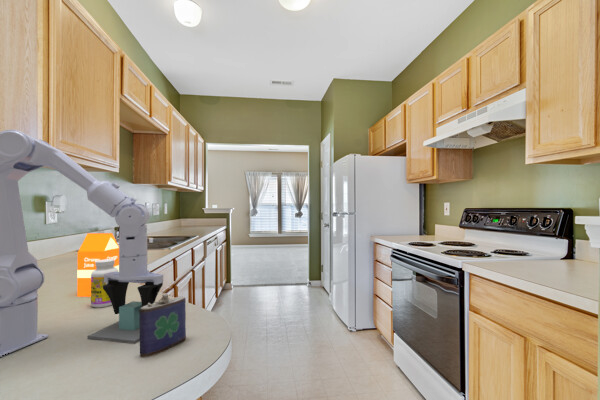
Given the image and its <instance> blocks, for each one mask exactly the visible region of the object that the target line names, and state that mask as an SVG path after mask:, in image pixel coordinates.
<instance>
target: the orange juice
mask: <svg viewBox="0 0 600 400" xmlns="http://www.w3.org/2000/svg"><path fill="white" fill-rule="evenodd" d="M105 259H114V260H115V264H114V267H115V268H117V269H118V272H119V243H118V242H117V239H116V238H115V236H114V234H113V233H112V232H105V233H104V232H103V233H102V232H101V233H100V232H98V233H95V232H93V233H91V232H90V233H87V234H86V235H85V238H84V240H83V242H82V243H81V244H80V247H79V249H78V251H77V271H76V272H77V273H76V277H77V278H76V279H77V287H76V288H77V289H76V290H77V292H76V293H77V295H76V296H77V298H79V297H81V298H82V297H87V298H88V297H90V298H91V273H92V272H93V271H94V270H96V266H95V262H96V261H99V260H105Z"/></svg>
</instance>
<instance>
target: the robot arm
mask: <svg viewBox="0 0 600 400" xmlns="http://www.w3.org/2000/svg"><path fill="white" fill-rule="evenodd" d="M44 167H46V168H47V167H48V168H52V169H54V170H55V171H56V172H58V173H60V174H62V175H63V176H64V177H65V178H66V179H69V180H70V181H71V182H73V184H75V185H77V186H78V187H80V188H81V189H83V190H85V192H86V195H87V197H86V198H87V200H88V201H90V202H91V203H92V204H93V205H95V206H97V208H99V209H100V210H102V211H103V212H104V213H106V214H107V215H109V216H110V217H112V218H114V221H115V222H116V224H117V226H119V237H118V246H119V272H109V273H106V274H104V282H108V283H107V285H104V286H103V289H104V291H105V292H106V293H107V295H108V296H109V298H110V301H111V303H112V305H111V306H112V309H113V310H112V311H113V313H114V315H119V307H120V306H123V305H125V304H126V297H127V290H128V287H129V284H130V283H138V284H143V285H139V286H137V291H138V293H139V296H140V297H139V298H140V302H142V307H143V306H146V305H148V303H150V304H153V302H156V300H157V297H158V295H159V292H160V290H161V288H162V287H163V284H164V274H163V273H156V272H150V270H148V227H147V226H148V224H147V223H148V221H149V220H150V212H149V210H148V209H147V208H146V206H145V205H144V204H142V203H136V201H137V199H136V198H135V197H130V196H129V195H128V194H126V193H125V192H123V191H122V190H121V189H119V188H120V185H119V184H117V183H116V182H111V181H109V180H102V181H101V180H99V179H97V178H95V177H94V176H93V175H92V174H91V173H90V172H88V171H87V170H86V169H85V168H83V167H82V166H81V165H80V164H79V163H77V162H76V161H74V159H72V158H71V157H70V156H68V155H67V153H64V152H63V151H62V150H60V149H58V148H57V147H55V146H52V145H51V144H50V143H48V142H47V141H45V140H41V139H38V138H35V137H34V136H31V135H28V134H27V133H25V132H23V131H21V130H18V129H6V130H2V131H0V356H1V357H3V356H2V355H4V356H6V355H8V353H9V354H11V353H13V352H16V351H18V350H21V349H23V348H25V347H28V346H29V345H32V344H35V343H36V342H39V341H42V340H44V339H46V338H48V337H49V334H48V333H38V313H39V312H38V308H39V307H38V305H39V296H38V295H39V294H38V290H40V289H41V287H42V286H43V284H44V282H45V273H44V272H43V270H42V269H41V268H40V267H39V265H38V260H37V258H36V257H35V256H34V255H33V254H31V253H30V251H29V247H28V240H27V233H26V229H25V228H26V227H25V220H24V212H23V207H22V202H21V195H20V188H19V183H18V182H19V181H20V180H22V178H24V177H25V176H26V175H27V174H29V173H31V172H35V171H36V170H38V169H41V168H44ZM5 354H6V355H5Z"/></svg>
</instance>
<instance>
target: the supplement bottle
mask: <svg viewBox="0 0 600 400" xmlns="http://www.w3.org/2000/svg"><path fill="white" fill-rule="evenodd" d="M114 264H115V260H114V259H105V260H99V261H96V262H95V266H96V270H94V271H93V272H92V273H91V297H90V306H91V307H92V308H105V307H110V306H112V303H111V301H110V298H109V296H108V295H107V293H106V292H105V291H104V289H103V286H104V285H107V283H108V282H104V274H106V273H109V272H118V269H117V268H115V267H114Z"/></svg>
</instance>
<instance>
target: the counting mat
mask: <svg viewBox="0 0 600 400" xmlns="http://www.w3.org/2000/svg"><path fill="white" fill-rule="evenodd" d="M88 339H89V340H96V341H97V340H98V341H107V342H115V343H117V342H118V343H125V344H134V345H135V344H137V343H138V342H140V328H138V329H136V330H134V331H133V330H122V329H119V320H118V321H116V322H113V323H111V324H109V325H108V326H105V327H103V328H101V329H98V330H97V331H95V332H92V333H91V334H89V335H87V340H88Z"/></svg>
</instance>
